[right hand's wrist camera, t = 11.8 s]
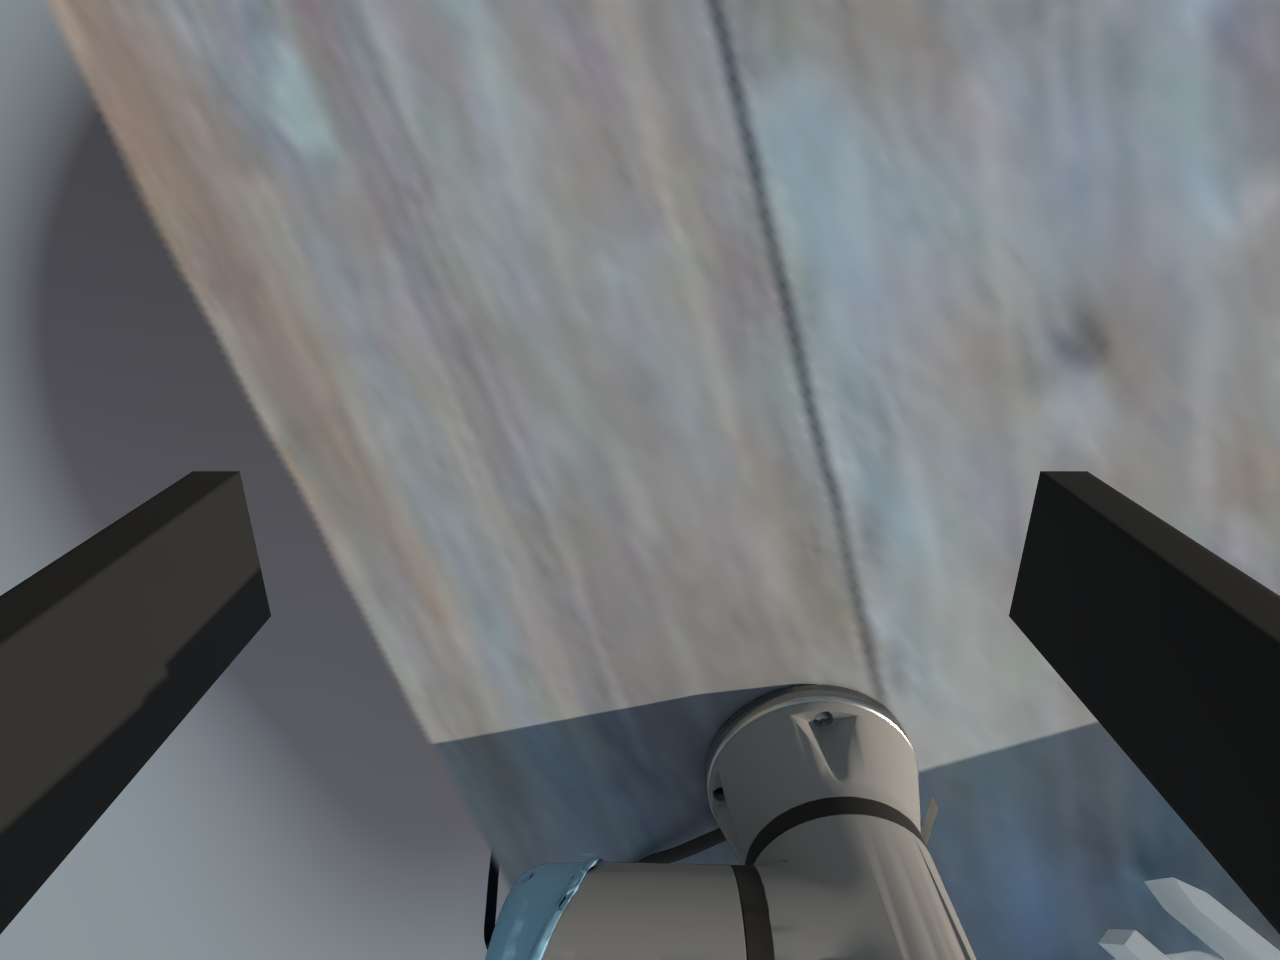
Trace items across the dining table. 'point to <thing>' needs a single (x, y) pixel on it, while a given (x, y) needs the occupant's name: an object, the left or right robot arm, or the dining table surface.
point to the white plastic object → (1192, 927)
